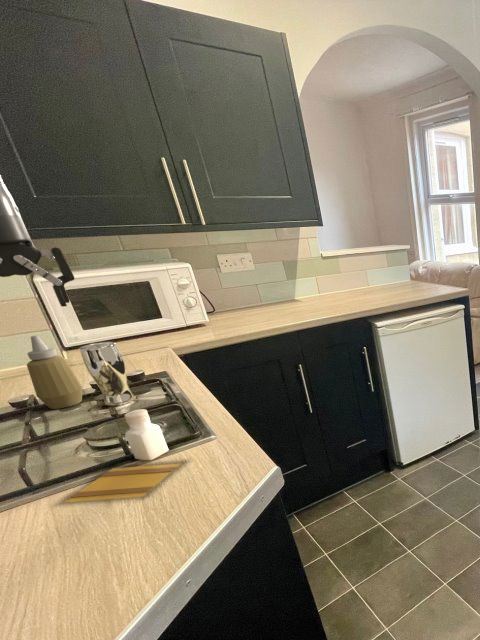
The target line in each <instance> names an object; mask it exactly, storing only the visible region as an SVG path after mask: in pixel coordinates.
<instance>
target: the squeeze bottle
mask: <svg viewBox="0 0 480 640" xmlns="http://www.w3.org/2000/svg"><path fill="white" fill-rule="evenodd" d="M30 341H31V348H32V350H31V351H28V352H27V356H28V358H29V360H30V361H29V362H27V363H26V367H27V370H28V373H29V376H30V380H31V382H32V386H33V389H34V392H35V395H36V397H37V398H38V399H39V400H40V401H41V402H42V403H43V404H45V405H46V407H48V408H49V409H50V410H58V409H64V408H69V407H72V406H75V405H78V404H80V403H82V401H83V385H82V384H81V383H80V381H79V379H78V377H77V376H76V374H75V372H74V371H73V369H72V367H71V366H70V364H69V363H68V361H67V360H66V358H65V357H64V356H60V355H58V353H57V350H56V349H55V348H54V347H49V348H48V346H47V344H45V343H44V341H43V340H42V339H41V338H40V337H39V335H31V336H30Z"/></svg>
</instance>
